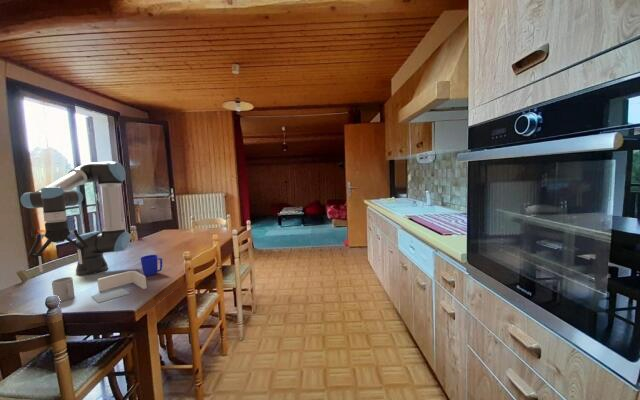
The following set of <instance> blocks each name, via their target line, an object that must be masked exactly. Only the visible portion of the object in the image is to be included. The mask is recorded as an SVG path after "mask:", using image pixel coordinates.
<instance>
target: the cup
mask: <svg viewBox="0 0 640 400" xmlns="http://www.w3.org/2000/svg"><path fill="white" fill-rule="evenodd" d="M73 280H74V279H73V276H67V277H60V278H57V279H55V280H52V281H51V287H52V295H57V296H59V298H60V300H61V302H65V301H69V300H71V299H73V298H74V297H75V289H74V281H73Z"/></svg>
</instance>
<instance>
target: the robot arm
mask: <svg viewBox="0 0 640 400" xmlns="http://www.w3.org/2000/svg"><path fill="white" fill-rule="evenodd" d="M126 173H127V172H126V169H125V166H123V165H122V163H120V162H118V161H98V162H96V161H95V162H94V161H93V162H87V163H84V164H81V165H79V166H77V167H74V168H72V169H70V170H69V171H68V173H67V174H66V175H64V176H62V177H60V178H58V179H56V180H55V181H53V182H51V183H49V184H48V185H46V186H44V187H42V188H39V189H37V191H29V192H24V193H23V194H21V196H20V203H21V206H23V207H24V208H27V209H41V208H42V210H43V212H42V213H43V219H44V220H43V221H44V222H45V223H44V228H45V229H44V230H45V233H43V234H41V233H38V234H36V236H35V238H36V239H35V241H34V243H33V245H32V246H31V249H30V250H29V252H28V254H27V256H28V257H29V258H33V259H34V264H35V265H36V266H37V265H38V266H39V267H38V268H39V272H40V273H43V272H44V270H43V262H42V261H43V260H42V256H41V255H42V254H43V252H44V251H45V250H46V249H47V248H48V246H50V244H51V243H58V242H64V241H67V242H69V243H70V244H72V245H73V246H74V247H76V250H77V251H76V252H77V259H78V261H77V265H76V268H75V274H76V275H77V276H85V275H92V274H93V275H94V274H96V273H97V274H98V273H101V272H104V271H106V270H107V269H108V268H109V265H108V262H107V261H106V260H105V258H104V254H106V253H119V252H124V251H126V250H127V249H128V247H129V245H130V243H131V234H130V233H129V232H128V231H126V228H125V227H124V226H123V221H122V208H121V194H120V187H121V186H122V184H123V182H124V181H125V180H126V178H127V177H126V175H127V174H126ZM86 183H97V185H98V186H100V188H101V196H102V210H103V223H104V224H103V225H104V227H103V228H102V230H101V231H100V230H94V231H91V232H86V233H82V234H79V231H78V230H77V229H76V228H74V229H72V230H69V226H68V221H67V220H68V218H67V209H66V207H72V206H78V205H79V204H81V203H82V202H83V200H84V195H83V193H82V192H81V191H79V190H77V189H75V188H76V187H78V186H82V185H85V184H86ZM70 234H72V236H73V235H74V237H75V240H73V239H71V238H70V237H69V235H70ZM44 238H46V239H47V240H46V241H45V243H44V244H42V246H41V247H40V248H39V249H38V250H37V248H38V247H39V245H40V242H41V240H44ZM36 250H37V252H36ZM35 252H36V253H35Z"/></svg>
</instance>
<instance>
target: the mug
mask: <svg viewBox="0 0 640 400" xmlns="http://www.w3.org/2000/svg"><path fill="white" fill-rule="evenodd" d="M158 260H159V266H158ZM140 264H141V267H142V272H143V273H142V274H143V275H144V276H145V277H146V276H153V275H156V274H157V273H158V272H161V271H162V269H163V258H162V257H158V254H149V255H144V256H141V257H140ZM158 268H159V269H158Z"/></svg>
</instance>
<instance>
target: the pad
mask: <svg viewBox="0 0 640 400" xmlns="http://www.w3.org/2000/svg"><path fill="white" fill-rule="evenodd" d="M127 295H130V292H128V291H127V290H125V289H124V288H122V287H117V288H115V289H112V290H111V289H110V290H108V291H107V290H106V291H105V292H101V293H97V294H94V295H91V298H92V299H93V301H95V302H96V303H97V304H99V303H103V302H106V301H110V300H114V299H117V298H120V296H121V297H123V296H127Z"/></svg>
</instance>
